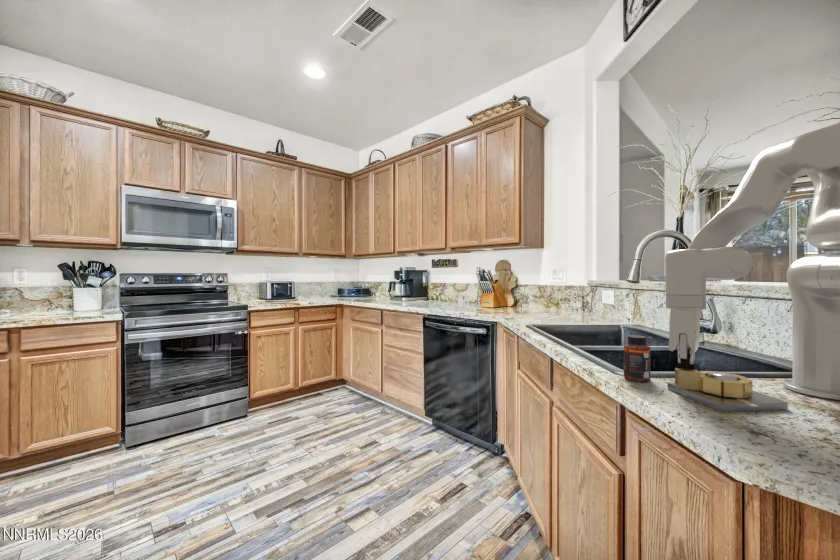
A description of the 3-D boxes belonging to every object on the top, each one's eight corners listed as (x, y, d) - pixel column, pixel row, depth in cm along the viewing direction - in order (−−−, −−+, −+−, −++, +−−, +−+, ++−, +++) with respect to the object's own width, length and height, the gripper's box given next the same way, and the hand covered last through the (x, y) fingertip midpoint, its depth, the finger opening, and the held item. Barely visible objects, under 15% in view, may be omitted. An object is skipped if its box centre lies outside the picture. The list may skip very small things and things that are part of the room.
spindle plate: (723, 387, 84) (723, 365, 84) (796, 412, 68) (796, 386, 68) (667, 388, 83) (667, 367, 83) (727, 414, 68) (727, 388, 67)
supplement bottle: (654, 383, 87) (654, 338, 87) (628, 382, 89) (628, 337, 88) (644, 376, 93) (644, 334, 93) (620, 375, 94) (620, 334, 94)
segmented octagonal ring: (736, 385, 79) (736, 368, 79) (760, 399, 71) (760, 379, 71) (669, 381, 83) (669, 364, 83) (684, 393, 75) (684, 374, 75)
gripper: (670, 299, 89) (671, 370, 89) (660, 304, 78) (661, 385, 78) (708, 300, 84) (709, 376, 84) (703, 305, 73) (704, 392, 73)
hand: (686, 380), depth 81 cm, fingers closed
